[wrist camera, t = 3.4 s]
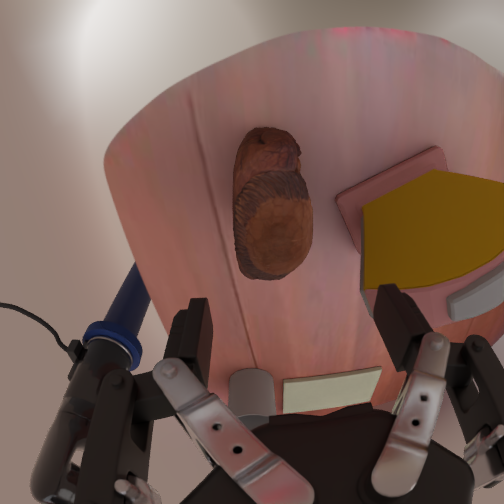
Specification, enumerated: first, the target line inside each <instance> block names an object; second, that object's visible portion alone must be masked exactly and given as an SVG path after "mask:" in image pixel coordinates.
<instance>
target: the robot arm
mask: <svg viewBox="0 0 504 504" xmlns="http://www.w3.org/2000/svg"><path fill="white" fill-rule="evenodd" d="M0 307H3V308H9V309H13V310H16V311H18V312H20V313H22V314H24V315H26V316H28V317H30V318H32V319H34V320H36V321H37V322H39V323H40V324H42V325H43V326H45V327H46V328H47V329H48V330H49V331H50V332H51V333H52V334H53V335H54V337H55V339H56V341H57V343H58V345H59V346H60V347H61V348H62V349H63V350H64V351H66V352H67V353H68V355H69V357H70V358H71V360H72V361H73V363H74V364H73V366H72V368H71V370H70V372H69V375H68V379H69V381H70V383H69V386H68V388H67V390H66V393H65V395H64V398H63V400H62V402H61V405H60V407H59V410H58V413H57V415H56V417H55V420H54V422H53V424H52V426H51V427H50V429H49V431H48V433H47V436H46V438H45V441H44V443H43V446H42V448H41V451H40V453H39V455H38V458H37V460H36V463H35V465H34V468H33V471H32V474H31V479H30V490H31V494H32V496H33V498H34V499H35V500H36V501H38V502H39V503H41V504H162V503H161V497H160V494H159V493H158V491H157V490H156V489H154V488H153V487H152V486H151V485H149V484H148V483H147V479H148V468H149V458H150V449H151V441H152V432H153V424H154V420H157V419H162V418H166V417H170V416H174V417H175V419H176V420H177V421H178V423H179V424H180V426H181V427H182V428H183V430H184V431H185V433H186V434H187V435H188V437H189V438H190V439H191V440H192V442H193V443H194V444H195V446H196V447H197V449H198V450H199V452H200V453H201V455H202V456H203V457H204V459H205V460H206V461H207V462H208V463H209V465H210V466H211V467H212V468H213V470H212V471H211V472H210V473H209V474H208V475H207V477H206V478H205V479H204V480H203V481H202V482H201V483H200V484H199V485H198V486H197V487H196V488H195V489H194V490H193V491H192V492H191V493H190V494H189V495H188V496H187V497H186V498H185V499H184V500H183V501H182V502H181V503H180V504H472V497H473V492H474V491H476V490H478V489H480V488H481V487H484V488H492V487H494V486H495V485H497V484H498V483H500V482H501V481H503V480H504V369H503V367H502V365H501V363H500V361H499V360H498V358H497V356H496V354H495V353H494V351H493V349H492V348H491V346H490V344H489V343H488V341H487V340H486V339H485V338H483V337H482V336H479V335H470V336H468V337H467V338H466V340H465V342H464V343H452V342H449V340H448V338H447V337H446V336H444V335H443V334H441V333H438V332H434V331H433V329H432V328H431V326H430V325H429V323H428V321H427V320H426V318H425V317H424V315H423V313H421V310H420V309H419V307H417V304H416V303H415V301H414V300H413V298H412V297H410V296H409V295H408V294H406V293H405V292H403V293H401V291H400V290H399V288H398V287H397V285H396V284H395V283H391V284H382V285H379V287H378V291H377V296H376V300H375V305H374V310H373V317H374V322H375V324H376V326H377V328H378V330H379V333H380V335H381V337H382V339H383V341H384V343H385V346H386V348H387V350H388V352H389V355H390V357H391V359H392V362H393V364H394V366H395V368H396V371H397V372H400V371H405V370H406V373H407V375H406V377H405V380H404V382H403V385H402V388H401V390H400V393H399V395H398V398H397V400H396V403H395V406H394V408H393V410H392V412H391V413H390V412H387V411H383V410H379V409H373V407H372V404H371V402H369V403H364V404H359V405H353V406H347V407H345V408H342V409H340V410H337V411H335V412H332V413H330V414H327V415H324V416H314V415H304V414H284V415H271V416H269V423H265V424H262V425H260V426H258V427H256V428H254V429H252V430H251V431H250V430H249V429H248V428H247V427H246V426H245V425H244V424H243V423H242V422H241V421H240V420H239V419H238V418H237V417H236V415H235V414H234V413H233V412H232V411H231V410H230V409H229V408H228V407H227V406H226V405H225V404H224V402H223V401H222V400H221V399H220V398H219V397H218V396H217V395H216V394H215V393H209V392H208V390H207V388H208V377H209V368H210V358H211V349H212V339H213V324H212V319H211V313H210V308H209V303H208V299H207V298H191V299H190V303H189V307H188V309H187V310H180V311H179V312H178V313H177V314H176V315H175V317H174V319H173V322H172V327H171V330H170V334H169V337H168V341H167V345H166V349H165V353H164V357H163V360H161V361H159V362H158V363H157V364H156V365H155V366H154V368H153V370H152V371H150V372H146V373H142V374H138V375H132V374H131V373H130V372H129V371H130V368H131V366H132V363H133V355H132V353H131V351H130V350H129V348H128V347H127V346H126V345H124V344H123V343H122V342H120V341H119V340H117V339H115V338H113V337H110V336H106V335H95V336H92V337H91V338H90V339H89V340H85V341H84V343H83V345H82V344H81V342H80V340H72V341H71V343H70V344H69V346H68V347H67V346H65V345H64V344H63V343H62V342H61V340H60V338H59V336H58V334H57V332H56V331H55V330H54V329H53V328H52V327H51V326H50V325H49V324H48V323H46V322H45V321H43V320H42V319H41V318H39V317H38V316H36V315H34V314H32V313H30V312H28V311H26V310H24V309H22V308H20V307H18V306H15V305H12V304H6V303H0ZM473 378H474V380H475V382H476V384H477V386H478V388H479V393H478V390H477V388H476V386H475V384H474V382H473ZM445 388H446V390H447V393H448V395H449V398H450V400H451V403H452V405H453V408H454V410H455V413H456V416H457V418H458V421H459V424H460V426H461V429H462V432H463V435H464V438H465V441H466V444H467V445H466V446H465V449H464V458H463V459H462V458H461V457H459V456H457V455H456V454H454V453H453V452H451V451H450V450H448V449H446V448H445V447H443V446H442V445H440V444H439V443H437V442H435V441H434V440H432V439H431V437H432V434H433V431H434V428H435V424H436V421H437V417H438V414H439V411H440V407H441V403H442V399H443V395H444V391H445ZM75 451H82V452H84V453H83V457H82V462H81V466H78V465H77V464H75V463H73V462H71V459H72V457H73V455H74V453H75Z"/></svg>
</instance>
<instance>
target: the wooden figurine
mask: <svg viewBox="0 0 504 504" xmlns="http://www.w3.org/2000/svg"><path fill="white" fill-rule="evenodd" d="M300 155H301V151H300V147H299V145H298V144H297V143H296V140H295V139H294V138H293V136H292V135H291V134H289V133H288V132H287V131H283V130H279V129H276V128H269V127H264V128H254V129H253V130H251V131H250V132H249V133H248V134H247V135H246V136H245V138H244V140H243V141H242V143H241V145H240V147H239V149H238V152H237V156H236V161H235V165H234V172H233V231H234V239H235V243H234V245H235V251H236V257H237V261H238V265H239V269H240V271H241V272H242V274H243V275H244V276H246V277H247V278H249V279H262V280H280V279H282V278H284V277H285V276H286V275H288V274H289V273H290V272H292V271H293V270H295V269H296V268H297V267H298V266H299V265H300V264H301V263H302V262H303V261H304V259H305V258H306V256H307V254H308V252H309V250H310V247H311V244H312V236H313V209H312V206H311V200H310V197H309V195H308V190H307V188H306V183H305V181H304V179H303V178H302V176H301V174H300V168H301V164H300V161H299V158H298V156H300Z"/></svg>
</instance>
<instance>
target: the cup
mask: <svg viewBox="0 0 504 504" xmlns="http://www.w3.org/2000/svg"><path fill="white" fill-rule="evenodd" d="M228 408H229V409H230V410H231V411H232V412H233V413H234V414H235V415H236V417H237V418H238V419H239V420H240V421H241V422H242V423H243V424H244V425H245V426H246V427H247V428H248V429H249V430H250V431H251V430H252V429H254V428H256V427H258V426H260V425H262V424H265V423H269V416H271V415H276V406H275V394H274V382H273V378H272V375H270V374H269V373H268V372H266V371H264V370H260V369H257V368H255V369H243V370H240V371H237V372H235V373H234V374H233V375H231V377H230V380H229V399H228Z"/></svg>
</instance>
